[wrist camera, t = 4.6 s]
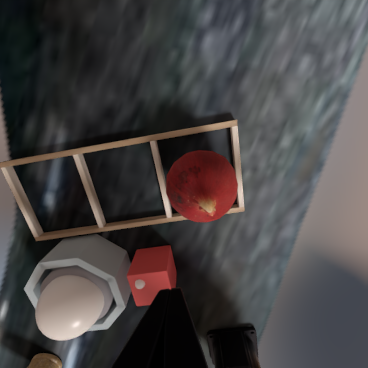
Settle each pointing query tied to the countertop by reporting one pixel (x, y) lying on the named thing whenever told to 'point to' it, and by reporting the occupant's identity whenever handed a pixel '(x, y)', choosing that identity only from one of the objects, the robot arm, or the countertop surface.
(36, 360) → the sprinkles bottle
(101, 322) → the dome base
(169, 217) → the wooden frame with crossbars
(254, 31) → the countertop surface
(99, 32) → the countertop surface
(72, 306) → the dome
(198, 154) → the onion
